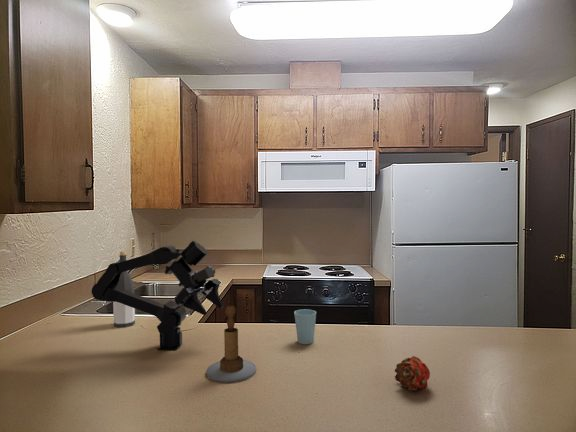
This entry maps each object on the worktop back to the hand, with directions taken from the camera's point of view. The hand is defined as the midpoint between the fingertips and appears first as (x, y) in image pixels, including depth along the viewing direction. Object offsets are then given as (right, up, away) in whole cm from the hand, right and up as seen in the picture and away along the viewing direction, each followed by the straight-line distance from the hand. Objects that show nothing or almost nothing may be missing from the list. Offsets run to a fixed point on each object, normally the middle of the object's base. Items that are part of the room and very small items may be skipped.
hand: (214, 310), depth 130 cm
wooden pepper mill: (+8, -13, -15) cm, 22 cm away
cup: (+30, -13, +9) cm, 34 cm away
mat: (+8, -14, -16) cm, 22 cm away
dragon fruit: (+56, -14, -26) cm, 64 cm away
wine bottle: (-43, -14, +32) cm, 55 cm away
